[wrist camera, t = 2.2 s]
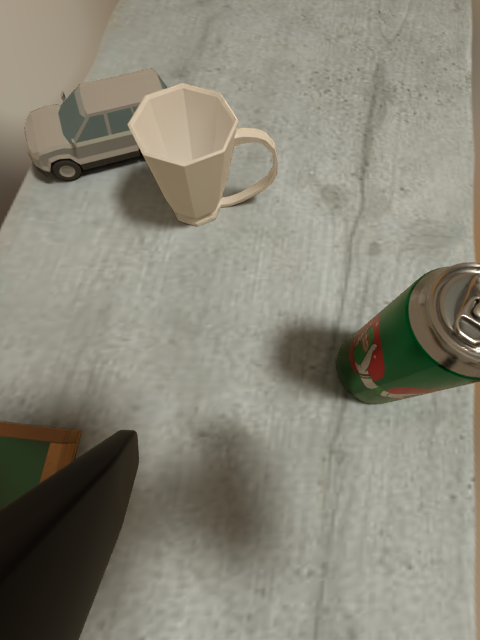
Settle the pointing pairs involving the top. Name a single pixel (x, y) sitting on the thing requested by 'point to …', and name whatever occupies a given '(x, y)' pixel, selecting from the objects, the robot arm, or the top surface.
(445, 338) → the soda can
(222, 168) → the cup
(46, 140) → the toy car
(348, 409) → the top surface
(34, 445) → the wooden divided tray
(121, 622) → the top surface
